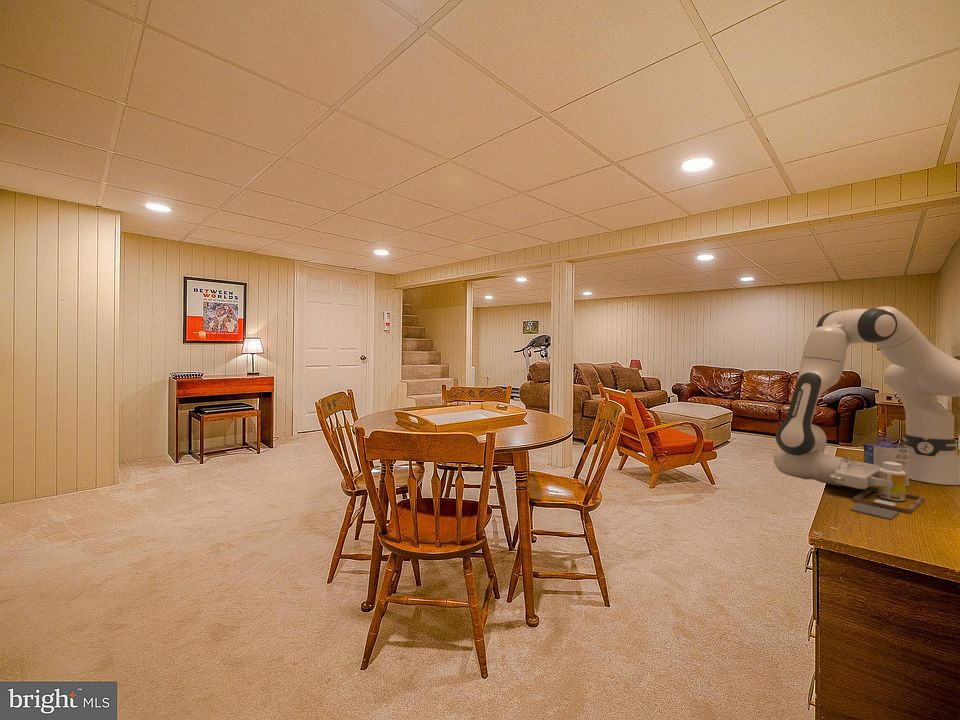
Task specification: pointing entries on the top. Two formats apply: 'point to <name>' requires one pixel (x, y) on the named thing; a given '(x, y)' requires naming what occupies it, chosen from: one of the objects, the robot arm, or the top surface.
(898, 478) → the supplement bottle
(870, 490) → the brown rectangular frame
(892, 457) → the ink cartridge box
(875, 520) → the top surface
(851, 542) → the top surface
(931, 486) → the top surface
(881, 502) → the flat tile
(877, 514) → the pad
